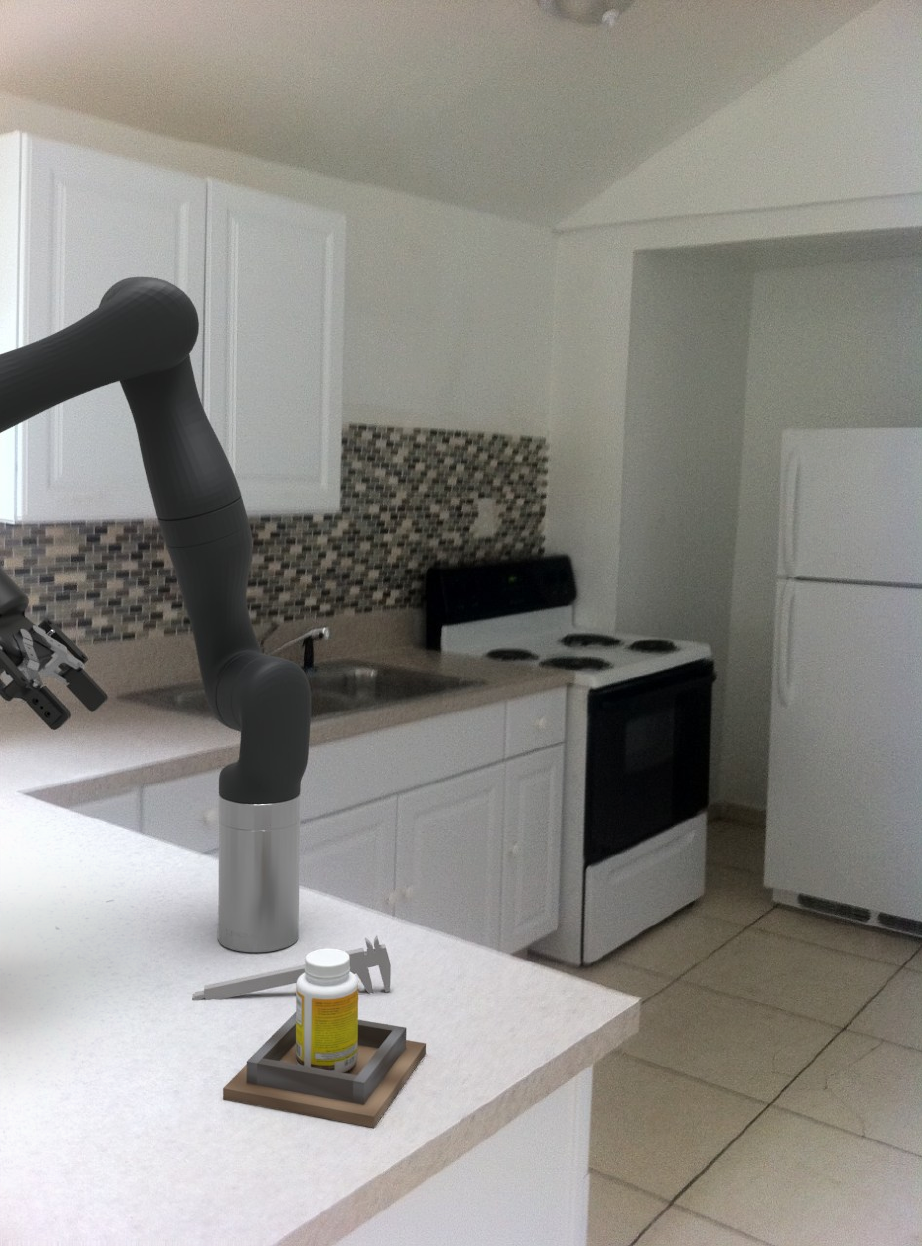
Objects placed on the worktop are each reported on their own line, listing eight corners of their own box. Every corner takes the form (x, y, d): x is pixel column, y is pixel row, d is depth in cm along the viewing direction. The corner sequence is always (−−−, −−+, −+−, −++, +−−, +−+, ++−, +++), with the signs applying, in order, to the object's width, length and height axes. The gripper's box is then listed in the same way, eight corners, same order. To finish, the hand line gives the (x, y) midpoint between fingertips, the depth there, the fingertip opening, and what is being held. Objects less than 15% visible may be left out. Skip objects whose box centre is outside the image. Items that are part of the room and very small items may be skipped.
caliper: (389, 990, 133) (390, 934, 132) (390, 995, 132) (391, 938, 131) (192, 998, 129) (192, 940, 128) (191, 1003, 128) (191, 944, 127)
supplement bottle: (369, 1062, 114) (371, 955, 113) (327, 1085, 110) (328, 975, 108) (325, 1043, 118) (326, 939, 116) (282, 1065, 113) (283, 957, 112)
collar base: (289, 1030, 122) (290, 1000, 122) (425, 1053, 118) (426, 1023, 118) (223, 1099, 109) (223, 1066, 109) (373, 1127, 105) (374, 1094, 105)
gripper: (-47, 569, 111) (78, 702, 112) (26, 557, 125) (137, 675, 126) (-102, 625, 113) (22, 757, 113) (-23, 607, 127) (87, 724, 127)
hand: (82, 714), depth 119 cm, fingers open, 8 cm apart
